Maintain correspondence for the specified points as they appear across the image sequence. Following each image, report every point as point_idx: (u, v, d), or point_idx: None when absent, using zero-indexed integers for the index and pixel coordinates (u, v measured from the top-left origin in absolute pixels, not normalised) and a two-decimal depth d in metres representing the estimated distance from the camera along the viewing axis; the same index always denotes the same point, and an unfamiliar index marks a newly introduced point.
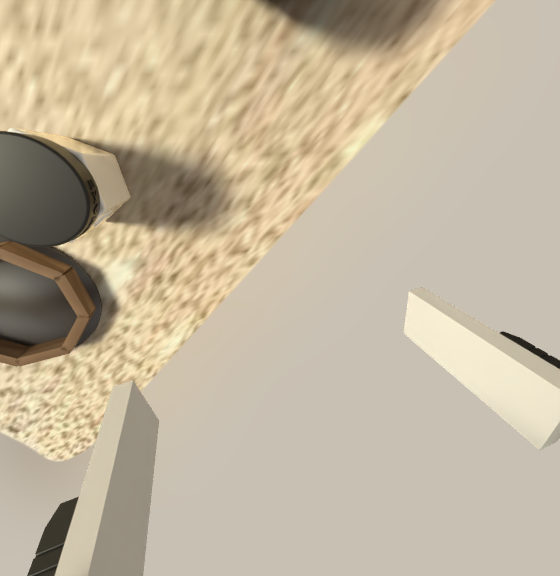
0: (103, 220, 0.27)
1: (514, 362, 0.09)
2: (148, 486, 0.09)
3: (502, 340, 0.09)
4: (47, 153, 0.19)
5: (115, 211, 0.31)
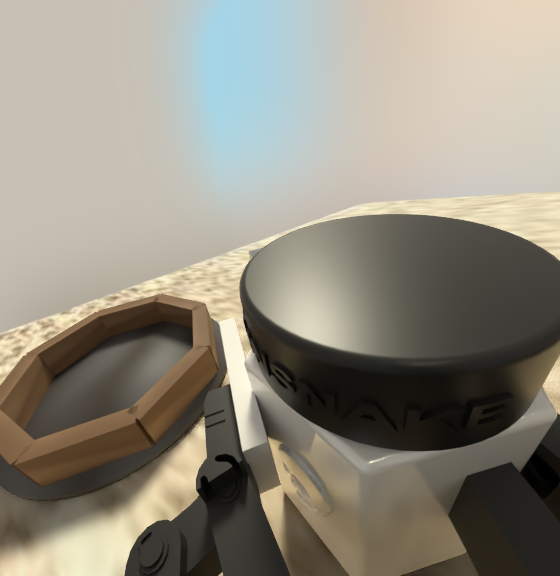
0: (297, 474, 0.09)
1: None
2: None
3: None
4: (552, 282, 0.05)
5: (311, 524, 0.12)
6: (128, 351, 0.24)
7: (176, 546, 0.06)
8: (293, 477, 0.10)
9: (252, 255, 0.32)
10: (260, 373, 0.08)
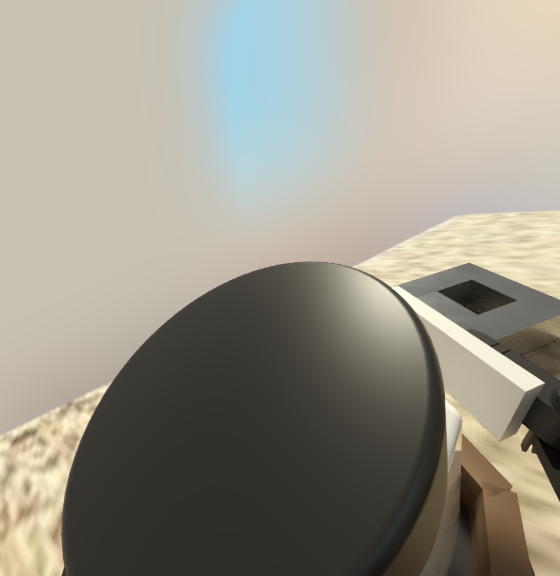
0: None
1: (475, 357, 0.09)
2: None
3: (466, 336, 0.10)
4: (343, 533, 0.03)
5: None
6: None
7: None
8: None
9: None
10: None
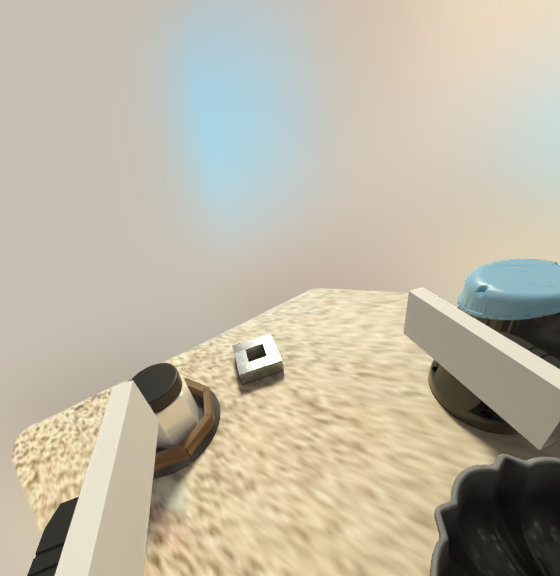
0: None
1: (514, 362, 0.09)
2: (148, 486, 0.09)
3: (502, 340, 0.09)
4: (153, 398, 0.38)
5: None
6: None
7: None
8: None
9: (234, 350, 0.58)
10: None
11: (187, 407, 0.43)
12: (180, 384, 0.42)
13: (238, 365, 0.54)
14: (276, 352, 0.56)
